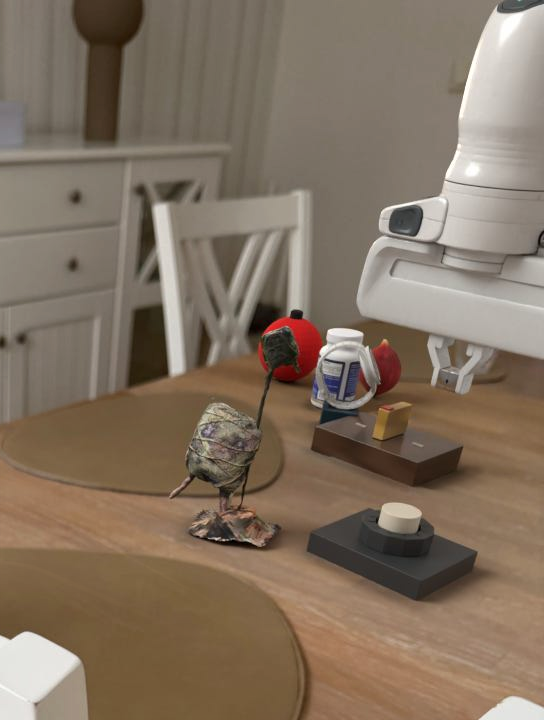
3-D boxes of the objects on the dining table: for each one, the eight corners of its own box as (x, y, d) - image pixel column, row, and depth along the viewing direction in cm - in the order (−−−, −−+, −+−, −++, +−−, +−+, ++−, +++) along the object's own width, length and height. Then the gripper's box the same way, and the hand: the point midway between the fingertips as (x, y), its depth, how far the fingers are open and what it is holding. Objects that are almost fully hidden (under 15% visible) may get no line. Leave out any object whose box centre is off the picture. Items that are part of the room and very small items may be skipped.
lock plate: (457, 469, 116) (464, 444, 114) (411, 487, 110) (418, 461, 109) (357, 434, 125) (362, 410, 123) (310, 449, 119) (315, 424, 117)
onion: (401, 398, 139) (416, 341, 135) (382, 406, 136) (396, 348, 131) (365, 388, 143) (377, 332, 138) (345, 395, 139) (357, 338, 135)
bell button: (424, 529, 92) (429, 512, 91) (403, 539, 89) (408, 521, 88) (391, 516, 94) (395, 499, 93) (370, 525, 92) (374, 507, 91)
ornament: (326, 381, 144) (340, 311, 139) (298, 393, 138) (312, 321, 133) (271, 367, 149) (283, 299, 144) (242, 378, 143) (254, 308, 137)
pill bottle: (341, 398, 137) (357, 326, 132) (358, 412, 133) (375, 338, 127) (303, 398, 136) (317, 325, 131) (319, 412, 132) (334, 337, 126)
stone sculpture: (195, 501, 103) (223, 306, 93) (292, 535, 97) (333, 331, 87) (152, 524, 97) (176, 319, 87) (252, 561, 92) (291, 347, 81)
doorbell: (472, 572, 93) (484, 533, 91) (415, 602, 87) (427, 562, 85) (364, 527, 100) (373, 490, 98) (305, 551, 94) (313, 513, 92)
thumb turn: (395, 429, 118) (402, 399, 116) (405, 433, 117) (413, 402, 115) (371, 437, 115) (379, 406, 113) (382, 440, 114) (389, 409, 112)
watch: (368, 441, 123) (389, 353, 117) (303, 431, 124) (321, 344, 118) (368, 427, 127) (388, 342, 121) (306, 418, 129) (322, 333, 123)
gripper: (638, 240, 75) (580, 414, 83) (403, 204, 88) (371, 358, 95) (604, 246, 72) (547, 428, 79) (364, 208, 84) (333, 368, 91)
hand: (449, 389), depth 87 cm, fingers closed
